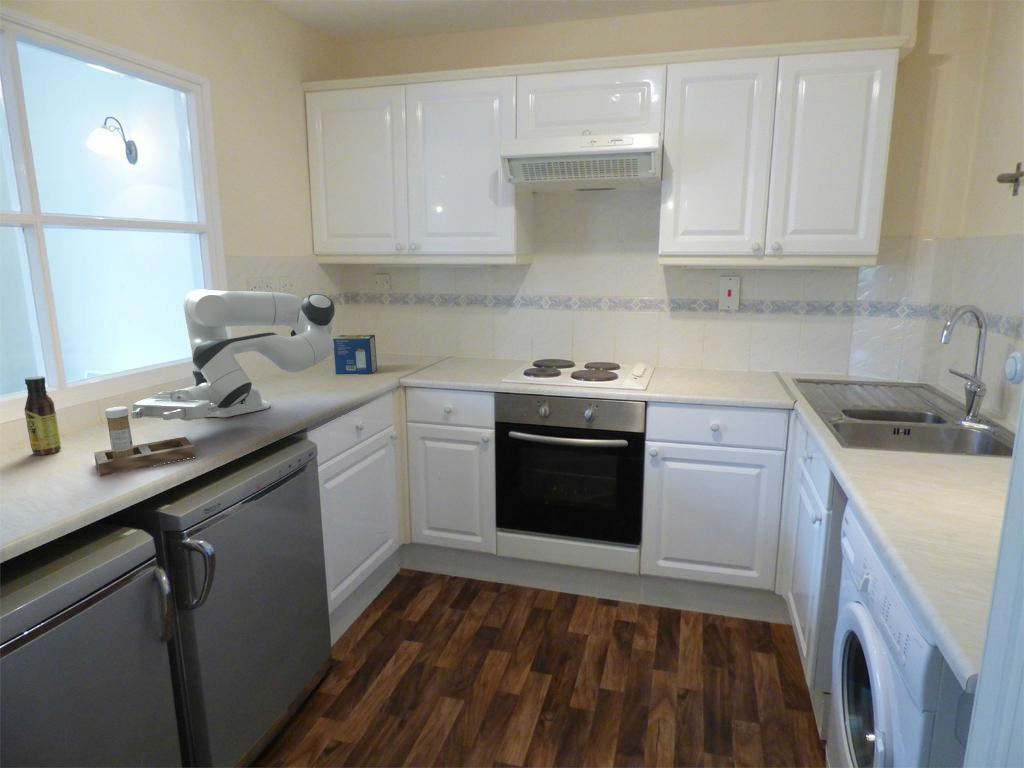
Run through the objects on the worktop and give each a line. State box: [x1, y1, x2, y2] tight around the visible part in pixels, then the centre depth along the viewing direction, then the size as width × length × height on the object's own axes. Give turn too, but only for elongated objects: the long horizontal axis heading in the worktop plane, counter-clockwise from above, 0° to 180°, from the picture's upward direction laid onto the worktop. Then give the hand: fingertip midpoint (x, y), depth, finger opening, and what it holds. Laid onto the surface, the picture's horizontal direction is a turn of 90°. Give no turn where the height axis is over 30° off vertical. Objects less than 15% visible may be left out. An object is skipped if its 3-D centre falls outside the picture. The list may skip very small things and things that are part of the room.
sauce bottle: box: [24, 375, 62, 456], centre depth 159 cm, size 6×6×20 cm
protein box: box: [332, 334, 378, 375], centre depth 263 cm, size 10×15×16 cm
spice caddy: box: [93, 436, 196, 477], centre depth 152 cm, size 20×11×3 cm, turn 128°
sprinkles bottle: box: [104, 405, 134, 459], centre depth 148 cm, size 5×5×14 cm
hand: (149, 416), depth 157 cm, fingers open, 8 cm apart
